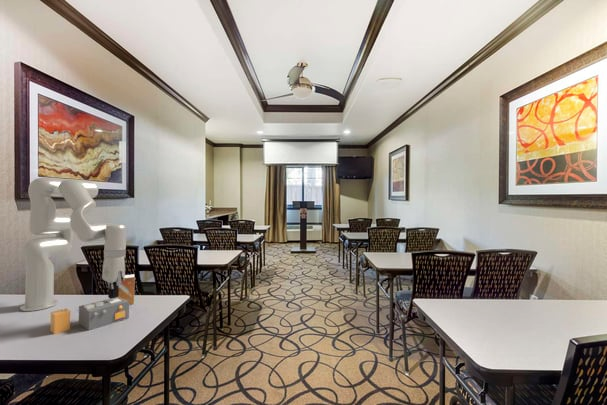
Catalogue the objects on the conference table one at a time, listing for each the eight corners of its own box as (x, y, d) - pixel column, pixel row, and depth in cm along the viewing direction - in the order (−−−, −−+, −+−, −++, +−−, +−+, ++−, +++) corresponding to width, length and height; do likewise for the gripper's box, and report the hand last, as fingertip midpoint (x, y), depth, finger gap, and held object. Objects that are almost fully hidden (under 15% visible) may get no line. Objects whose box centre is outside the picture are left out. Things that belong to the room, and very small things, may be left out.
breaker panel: (78, 323, 110) (79, 303, 110) (117, 312, 122) (118, 294, 122) (89, 330, 104) (90, 309, 105) (129, 318, 116) (129, 299, 116)
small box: (113, 307, 128) (114, 279, 129) (114, 303, 134) (114, 276, 134) (134, 304, 133) (134, 276, 133) (133, 300, 138) (134, 273, 138)
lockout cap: (50, 330, 104) (50, 312, 104) (65, 326, 108) (65, 308, 108) (54, 334, 102) (54, 314, 102) (69, 329, 105) (70, 311, 105)
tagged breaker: (106, 315, 116) (106, 301, 116) (117, 312, 119) (117, 298, 119) (110, 317, 114) (111, 303, 114) (121, 314, 117) (121, 300, 117)
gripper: (97, 252, 118) (95, 296, 118) (113, 257, 109) (111, 304, 109) (116, 250, 124) (115, 291, 124) (133, 254, 116) (131, 298, 116)
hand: (113, 297), depth 117 cm, fingers closed
